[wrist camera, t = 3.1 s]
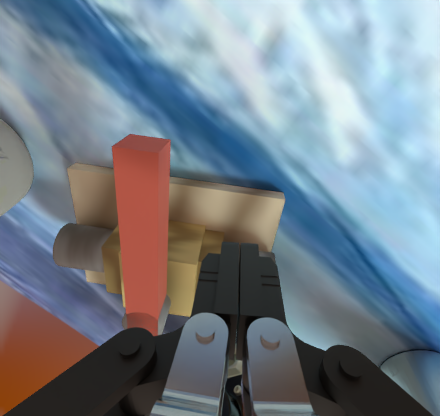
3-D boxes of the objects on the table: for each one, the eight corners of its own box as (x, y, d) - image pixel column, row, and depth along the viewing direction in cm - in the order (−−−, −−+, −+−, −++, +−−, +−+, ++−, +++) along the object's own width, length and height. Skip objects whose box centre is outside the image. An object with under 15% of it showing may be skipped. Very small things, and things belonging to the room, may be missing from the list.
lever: (170, 315, 24) (162, 342, 21) (134, 310, 24) (123, 336, 21) (177, 140, 16) (166, 154, 14) (123, 133, 16) (104, 145, 14)
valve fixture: (283, 192, 27) (298, 249, 19) (255, 297, 34) (258, 369, 26) (75, 162, 27) (6, 206, 19) (93, 273, 34) (48, 336, 27)
